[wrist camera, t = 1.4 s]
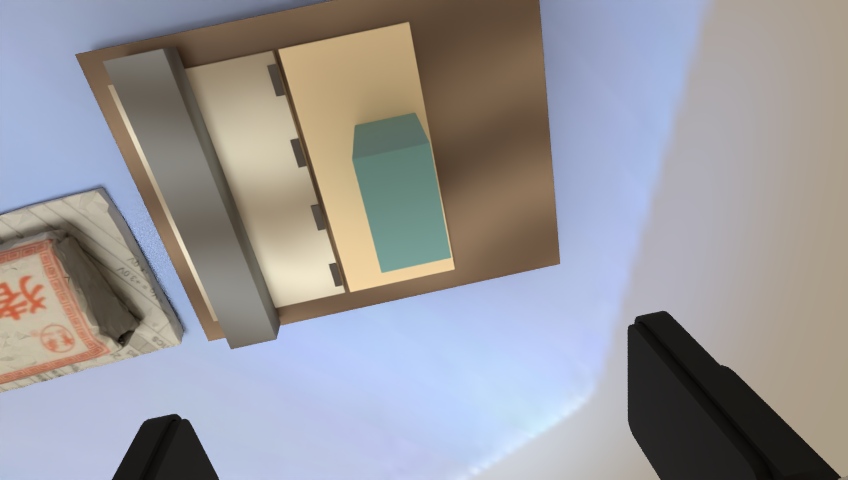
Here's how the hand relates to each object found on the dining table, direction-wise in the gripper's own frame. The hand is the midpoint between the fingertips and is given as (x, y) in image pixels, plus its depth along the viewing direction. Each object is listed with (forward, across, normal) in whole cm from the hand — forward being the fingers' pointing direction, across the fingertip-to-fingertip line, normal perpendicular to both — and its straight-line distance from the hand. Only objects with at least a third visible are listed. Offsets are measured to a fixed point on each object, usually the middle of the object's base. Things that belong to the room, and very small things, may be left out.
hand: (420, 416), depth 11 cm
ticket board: (+19, +2, 0) cm, 19 cm away
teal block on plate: (+17, +1, 0) cm, 17 cm away
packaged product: (+19, +23, +4) cm, 30 cm away
